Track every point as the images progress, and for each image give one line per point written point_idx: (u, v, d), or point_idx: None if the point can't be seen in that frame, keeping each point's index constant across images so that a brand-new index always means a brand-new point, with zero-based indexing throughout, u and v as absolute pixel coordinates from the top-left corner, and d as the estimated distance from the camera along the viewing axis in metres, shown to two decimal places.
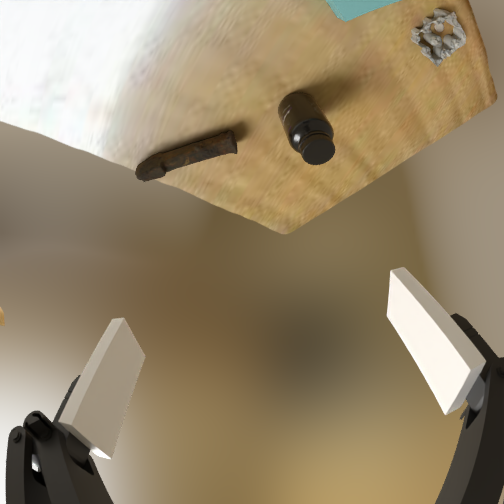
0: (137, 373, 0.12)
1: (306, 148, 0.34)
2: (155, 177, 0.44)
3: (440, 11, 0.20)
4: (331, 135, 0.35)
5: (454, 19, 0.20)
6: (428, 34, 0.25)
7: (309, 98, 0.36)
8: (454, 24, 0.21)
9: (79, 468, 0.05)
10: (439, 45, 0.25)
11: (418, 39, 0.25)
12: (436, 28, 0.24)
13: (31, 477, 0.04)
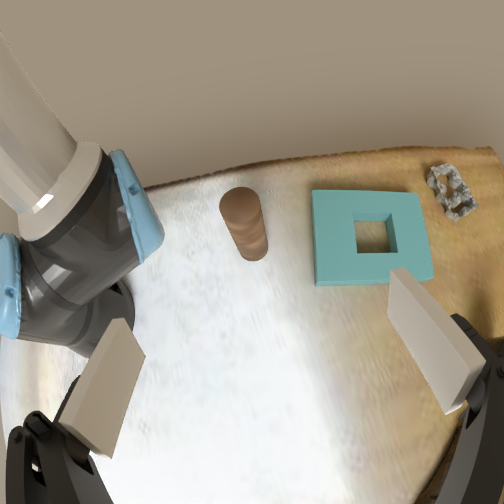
0: (137, 373, 0.12)
1: None
2: None
3: (430, 180, 0.40)
4: None
5: (435, 169, 0.40)
6: (451, 201, 0.39)
7: None
8: (440, 171, 0.40)
9: (79, 468, 0.05)
10: (461, 195, 0.37)
11: (457, 214, 0.36)
12: (444, 191, 0.40)
13: (31, 477, 0.04)
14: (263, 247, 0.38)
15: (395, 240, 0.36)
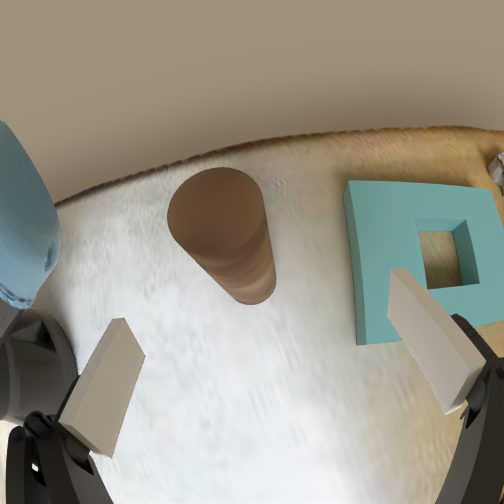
0: (137, 373, 0.12)
1: None
2: None
3: (496, 173, 0.23)
4: None
5: None
6: None
7: None
8: (503, 160, 0.23)
9: (79, 468, 0.05)
10: None
11: None
12: None
13: (31, 477, 0.04)
14: (269, 285, 0.20)
15: (474, 262, 0.19)
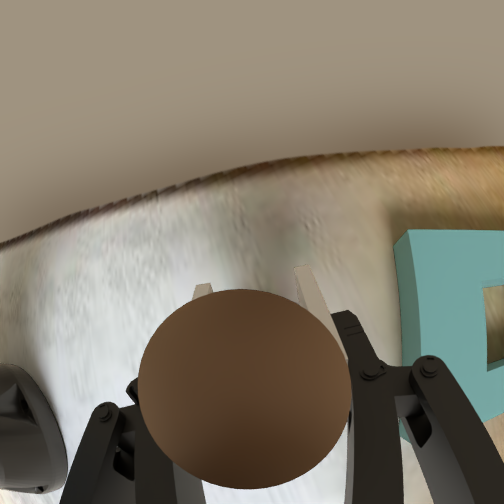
0: None
1: None
2: None
3: None
4: None
5: None
6: None
7: None
8: None
9: None
10: None
11: None
12: None
13: (110, 466, 0.05)
14: None
15: None
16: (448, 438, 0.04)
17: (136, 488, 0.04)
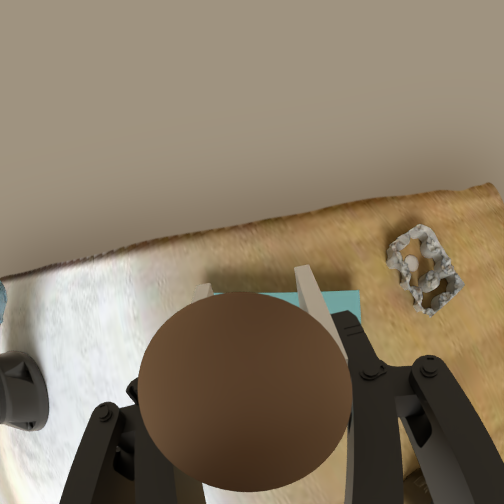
0: None
1: None
2: None
3: (391, 262, 0.30)
4: None
5: (400, 239, 0.31)
6: (423, 287, 0.29)
7: (416, 478, 0.19)
8: (407, 241, 0.30)
9: None
10: (438, 276, 0.28)
11: (430, 311, 0.27)
12: (414, 268, 0.31)
13: (109, 466, 0.05)
14: None
15: None
16: (448, 438, 0.04)
17: (136, 488, 0.04)
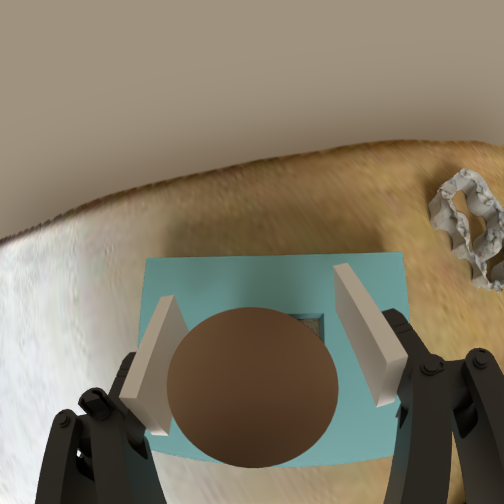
0: None
1: None
2: None
3: (440, 218, 0.19)
4: None
5: (444, 188, 0.19)
6: None
7: None
8: (454, 190, 0.19)
9: (135, 453, 0.06)
10: (500, 236, 0.16)
11: (498, 284, 0.15)
12: None
13: (73, 468, 0.05)
14: None
15: None
16: (492, 427, 0.04)
17: (97, 493, 0.04)
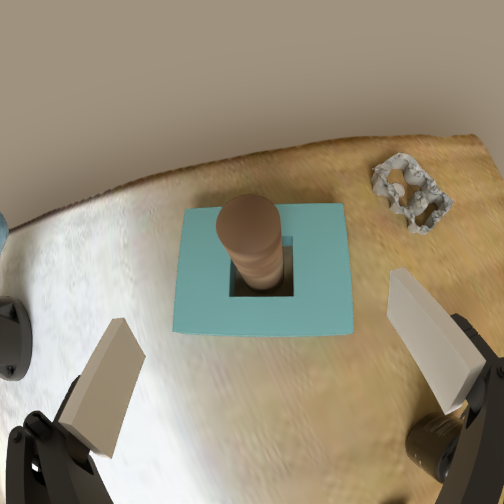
0: (137, 373, 0.12)
1: None
2: None
3: (377, 187, 0.31)
4: None
5: (382, 167, 0.31)
6: (413, 208, 0.30)
7: (425, 424, 0.20)
8: (389, 168, 0.31)
9: (79, 468, 0.05)
10: (426, 195, 0.28)
11: (425, 227, 0.27)
12: (401, 194, 0.32)
13: (30, 477, 0.04)
14: (279, 277, 0.27)
15: (293, 276, 0.27)
16: None
17: None
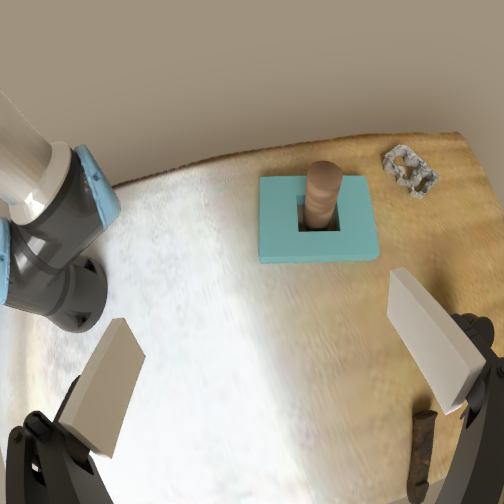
0: (137, 373, 0.12)
1: None
2: (425, 491, 0.22)
3: (387, 167, 0.44)
4: (474, 316, 0.26)
5: (389, 154, 0.45)
6: (412, 181, 0.43)
7: None
8: (394, 155, 0.44)
9: (79, 468, 0.05)
10: (420, 172, 0.42)
11: (421, 192, 0.41)
12: (403, 172, 0.45)
13: (30, 477, 0.04)
14: (330, 219, 0.40)
15: (338, 219, 0.40)
16: None
17: None
